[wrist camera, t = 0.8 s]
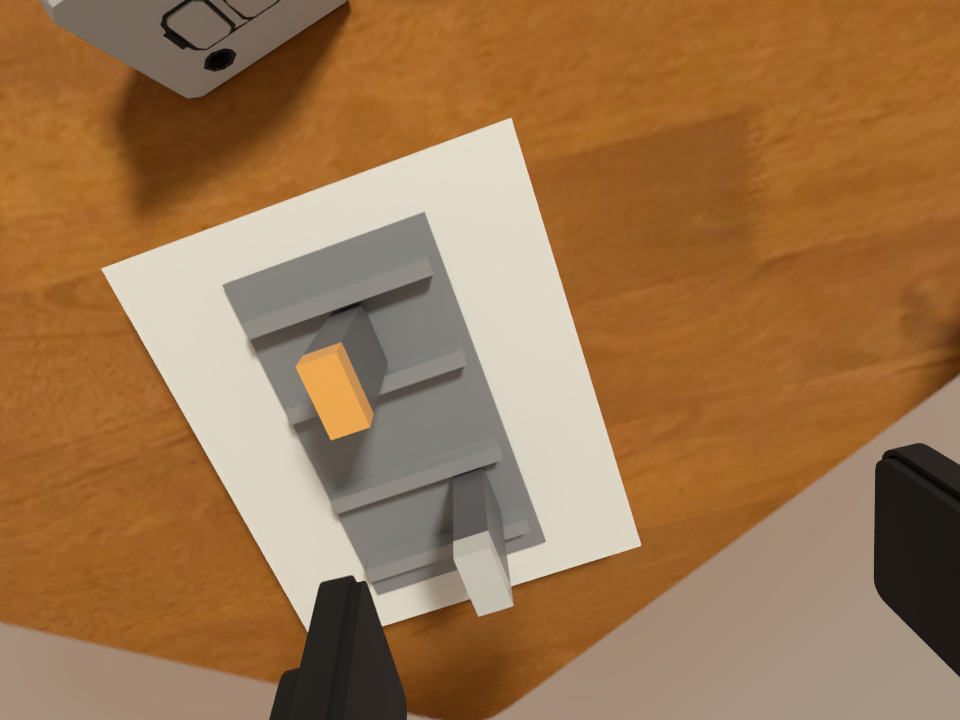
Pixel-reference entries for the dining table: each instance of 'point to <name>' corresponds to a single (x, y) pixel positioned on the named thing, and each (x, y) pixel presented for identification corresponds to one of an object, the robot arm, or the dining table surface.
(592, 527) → the lever base
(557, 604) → the dining table surface
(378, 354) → the toggle
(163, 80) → the electrical switch
